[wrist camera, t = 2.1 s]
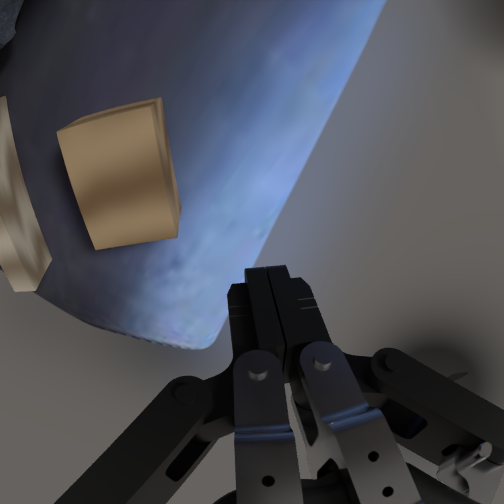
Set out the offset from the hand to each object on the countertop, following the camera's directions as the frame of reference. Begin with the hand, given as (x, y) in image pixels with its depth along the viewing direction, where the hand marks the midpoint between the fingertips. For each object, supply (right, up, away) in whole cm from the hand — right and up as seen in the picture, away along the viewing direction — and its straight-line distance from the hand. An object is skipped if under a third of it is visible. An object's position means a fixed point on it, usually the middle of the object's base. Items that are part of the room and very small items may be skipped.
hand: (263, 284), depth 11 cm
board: (-23, +8, +10) cm, 27 cm away
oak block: (-11, +9, +12) cm, 18 cm away
